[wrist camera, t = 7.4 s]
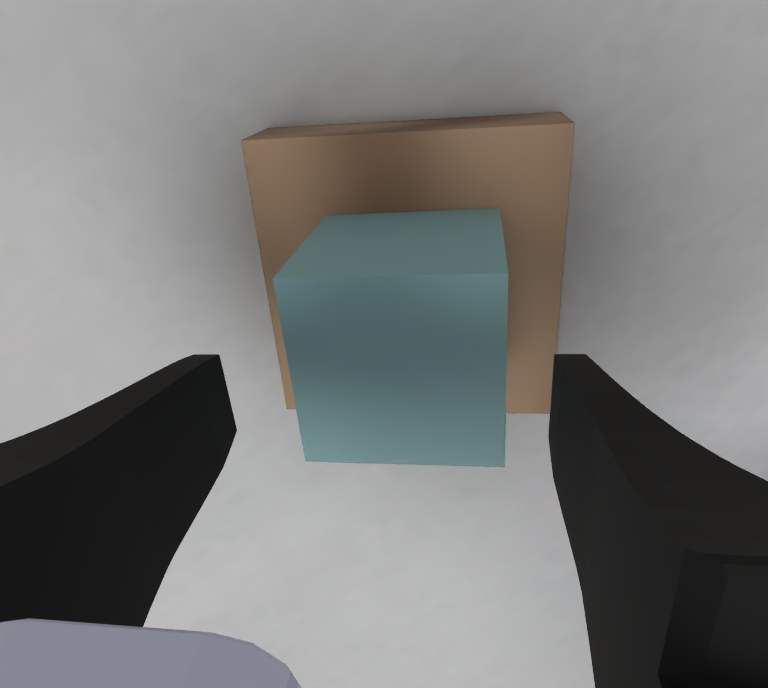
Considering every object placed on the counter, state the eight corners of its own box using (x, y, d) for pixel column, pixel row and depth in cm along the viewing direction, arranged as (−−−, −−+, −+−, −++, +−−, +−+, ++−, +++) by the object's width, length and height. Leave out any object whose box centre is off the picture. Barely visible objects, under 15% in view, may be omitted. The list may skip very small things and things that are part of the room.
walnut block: (558, 110, 18) (574, 123, 15) (541, 368, 22) (551, 413, 19) (272, 125, 19) (241, 140, 16) (308, 366, 23) (286, 408, 20)
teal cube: (500, 207, 16) (508, 273, 12) (498, 364, 18) (504, 466, 14) (325, 215, 17) (272, 278, 13) (344, 364, 19) (305, 461, 15)
